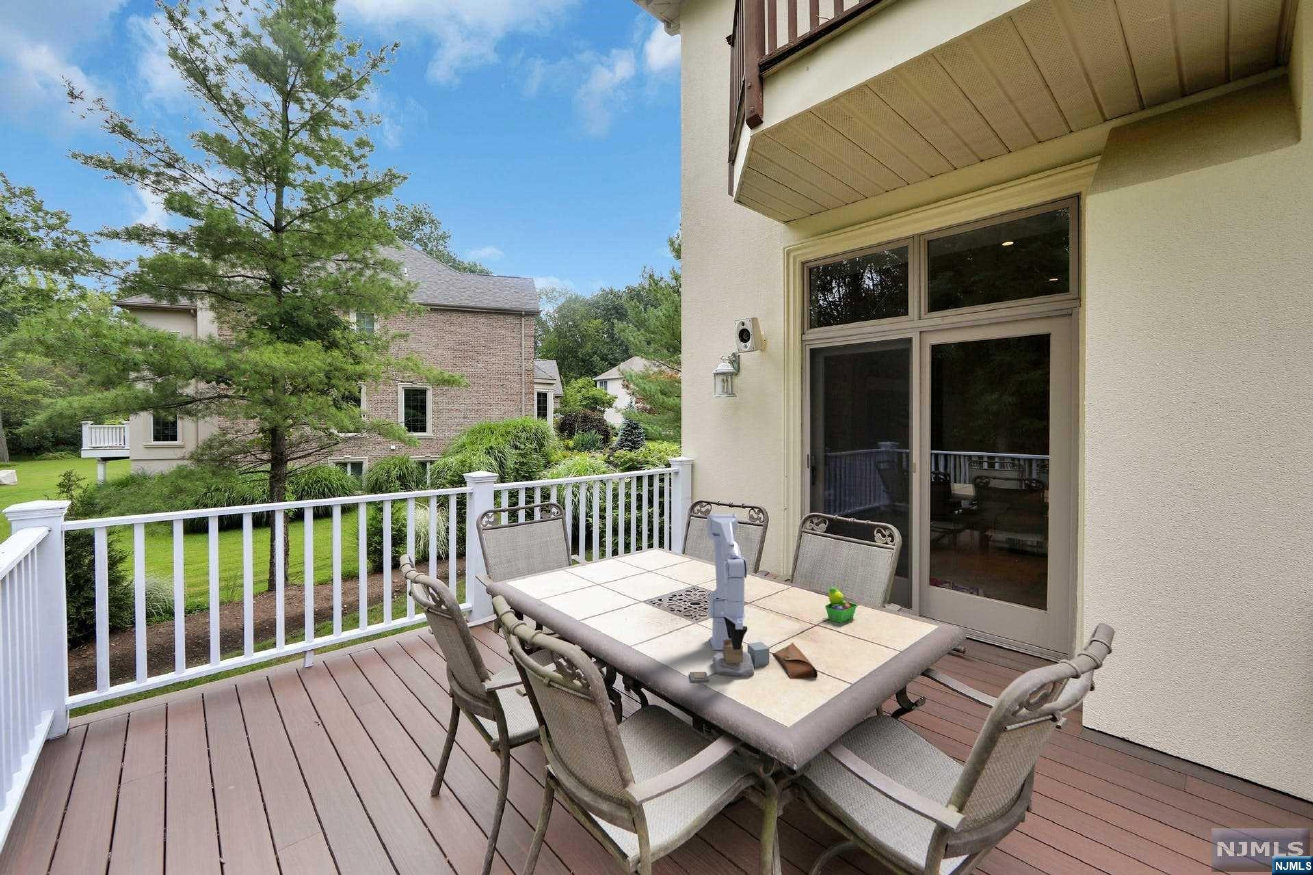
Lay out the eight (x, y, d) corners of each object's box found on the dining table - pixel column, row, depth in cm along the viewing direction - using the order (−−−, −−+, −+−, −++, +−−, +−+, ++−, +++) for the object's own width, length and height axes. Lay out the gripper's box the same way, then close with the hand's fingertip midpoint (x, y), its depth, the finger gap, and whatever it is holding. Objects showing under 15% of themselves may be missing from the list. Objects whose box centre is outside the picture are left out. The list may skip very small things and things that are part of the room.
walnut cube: (723, 655, 160) (723, 639, 160) (739, 655, 160) (739, 639, 160) (726, 662, 155) (726, 646, 155) (742, 662, 155) (742, 646, 155)
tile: (689, 673, 156) (689, 671, 156) (706, 673, 156) (706, 671, 156) (691, 682, 151) (691, 679, 151) (708, 681, 151) (708, 679, 151)
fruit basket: (841, 624, 194) (842, 594, 193) (821, 617, 200) (821, 589, 200) (858, 617, 201) (858, 588, 200) (837, 611, 208) (837, 583, 207)
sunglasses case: (769, 652, 170) (779, 634, 170) (787, 662, 171) (797, 644, 171) (790, 679, 152) (802, 659, 152) (810, 690, 153) (821, 670, 153)
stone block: (756, 682, 155) (749, 660, 164) (757, 668, 153) (749, 647, 163) (717, 685, 154) (711, 662, 164) (717, 670, 153) (711, 649, 163)
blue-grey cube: (747, 659, 166) (747, 643, 165) (761, 657, 167) (761, 641, 167) (754, 666, 161) (755, 650, 161) (769, 663, 162) (769, 648, 162)
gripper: (717, 590, 163) (717, 633, 163) (725, 607, 148) (725, 654, 149) (739, 590, 163) (739, 633, 164) (750, 607, 149) (749, 654, 149)
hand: (734, 643), depth 156 cm, fingers open, 7 cm apart
